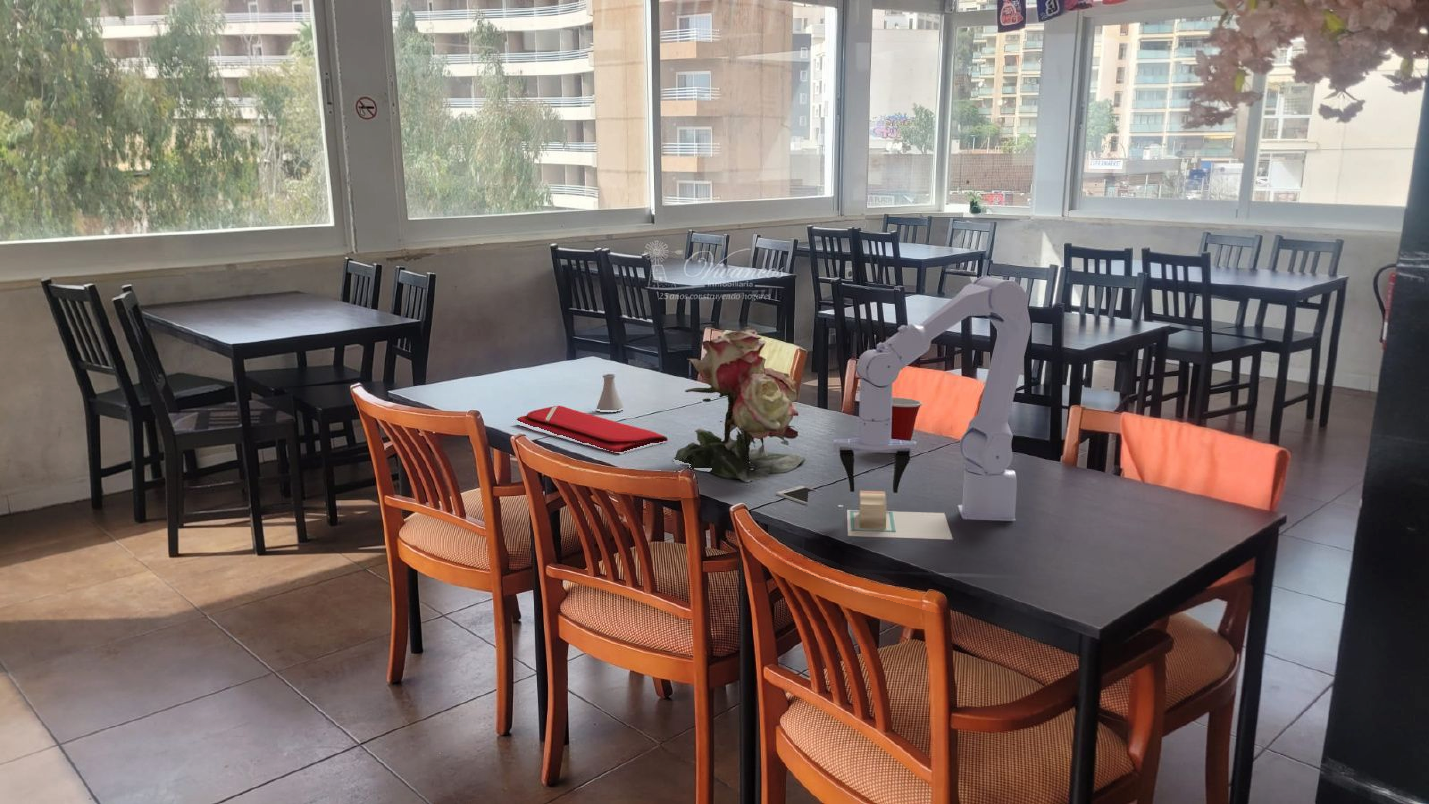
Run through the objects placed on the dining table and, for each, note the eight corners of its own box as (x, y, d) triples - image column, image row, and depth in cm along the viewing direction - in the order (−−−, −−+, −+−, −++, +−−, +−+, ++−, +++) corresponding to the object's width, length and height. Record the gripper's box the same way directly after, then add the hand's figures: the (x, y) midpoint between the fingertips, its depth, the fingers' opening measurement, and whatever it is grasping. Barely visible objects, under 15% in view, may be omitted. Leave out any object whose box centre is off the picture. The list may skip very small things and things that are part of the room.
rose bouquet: (761, 489, 204) (762, 343, 197) (660, 462, 223) (658, 329, 216) (835, 462, 222) (838, 328, 216) (735, 440, 241) (735, 316, 235)
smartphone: (831, 515, 188) (831, 510, 188) (775, 496, 200) (775, 491, 200) (857, 507, 193) (857, 503, 193) (801, 489, 205) (801, 485, 204)
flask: (628, 410, 274) (627, 374, 272) (612, 415, 268) (611, 378, 266) (607, 406, 278) (606, 371, 275) (591, 412, 272) (589, 375, 269)
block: (885, 529, 178) (886, 505, 177) (859, 528, 179) (860, 504, 178) (884, 514, 186) (884, 491, 185) (859, 513, 187) (859, 490, 186)
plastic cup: (929, 449, 232) (931, 398, 230) (903, 458, 225) (905, 406, 222) (889, 441, 240) (891, 392, 237) (863, 450, 232) (865, 399, 229)
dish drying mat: (618, 457, 229) (617, 441, 228) (514, 427, 257) (513, 413, 256) (668, 444, 240) (668, 429, 239) (563, 417, 268) (563, 403, 267)
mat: (944, 515, 187) (944, 512, 187) (952, 542, 173) (952, 538, 173) (846, 512, 189) (846, 509, 189) (847, 538, 175) (847, 535, 175)
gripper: (915, 413, 181) (912, 485, 184) (834, 411, 183) (833, 483, 186) (918, 422, 174) (915, 497, 177) (834, 421, 176) (833, 494, 179)
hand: (873, 490), depth 181 cm, fingers open, 7 cm apart
